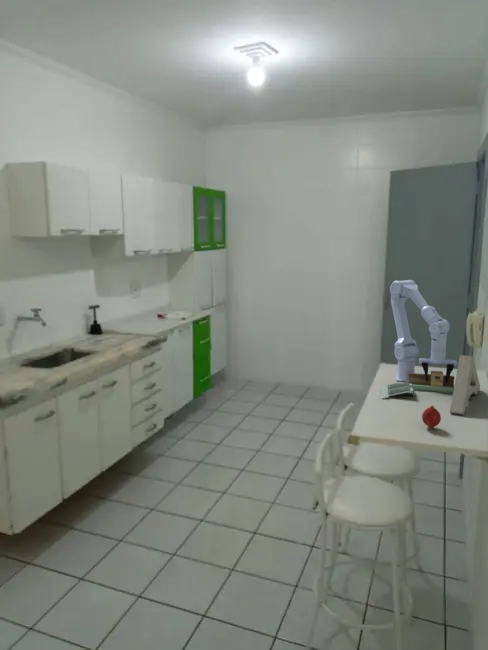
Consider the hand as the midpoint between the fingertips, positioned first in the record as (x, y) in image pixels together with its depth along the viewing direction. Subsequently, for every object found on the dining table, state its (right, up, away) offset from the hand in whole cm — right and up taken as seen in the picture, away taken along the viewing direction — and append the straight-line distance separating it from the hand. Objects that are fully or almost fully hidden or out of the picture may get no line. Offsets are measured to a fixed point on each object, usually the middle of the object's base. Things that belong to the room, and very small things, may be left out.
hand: (436, 381), depth 211 cm
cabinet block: (0, -3, 0) cm, 3 cm away
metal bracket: (-18, -5, -7) cm, 20 cm away
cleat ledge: (-2, -3, 0) cm, 4 cm away
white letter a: (+5, -6, -16) cm, 18 cm away
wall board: (-1, -3, +4) cm, 5 cm away
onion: (-19, -11, -44) cm, 49 cm away
